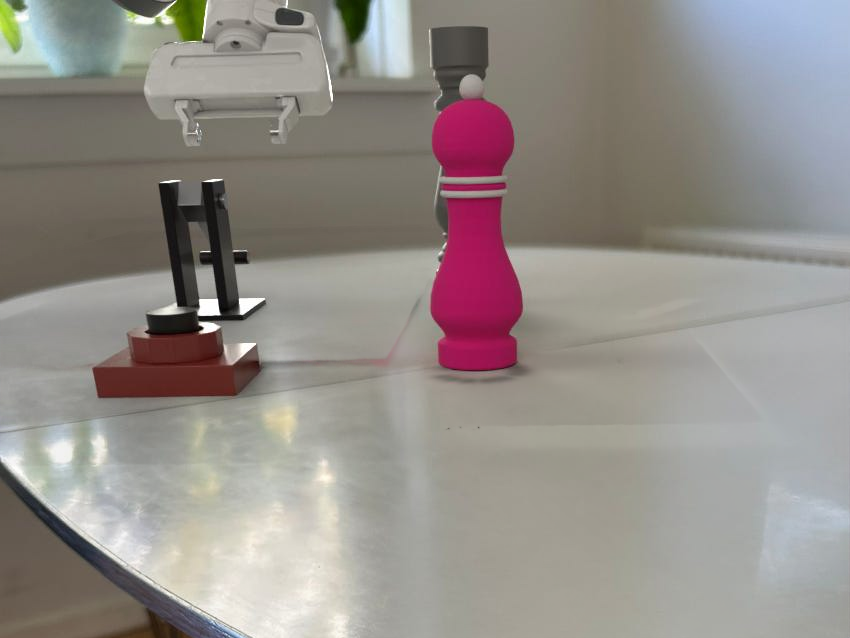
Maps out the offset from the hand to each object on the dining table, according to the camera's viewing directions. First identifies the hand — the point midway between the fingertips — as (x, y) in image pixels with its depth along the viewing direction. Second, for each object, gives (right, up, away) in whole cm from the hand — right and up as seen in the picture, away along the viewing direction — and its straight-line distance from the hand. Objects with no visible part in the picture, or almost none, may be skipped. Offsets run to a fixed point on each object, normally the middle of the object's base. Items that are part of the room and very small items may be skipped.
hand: (234, 140), depth 107 cm
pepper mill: (+26, -32, -28) cm, 50 cm away
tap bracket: (0, -22, -9) cm, 24 cm away
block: (+4, -35, -33) cm, 48 cm away
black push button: (+4, -32, -34) cm, 47 cm away
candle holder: (+25, -18, -1) cm, 31 cm away
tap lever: (0, -15, -9) cm, 17 cm away
